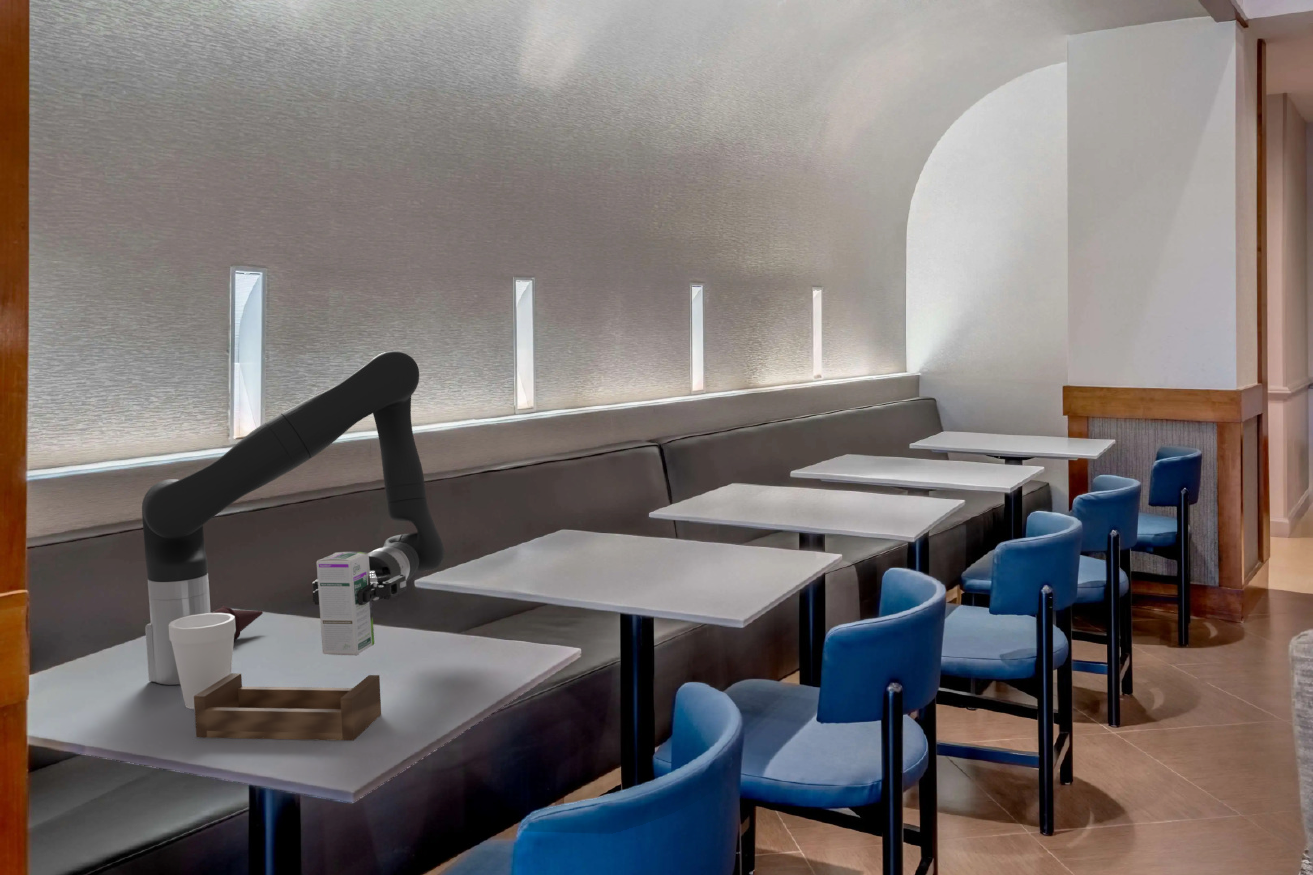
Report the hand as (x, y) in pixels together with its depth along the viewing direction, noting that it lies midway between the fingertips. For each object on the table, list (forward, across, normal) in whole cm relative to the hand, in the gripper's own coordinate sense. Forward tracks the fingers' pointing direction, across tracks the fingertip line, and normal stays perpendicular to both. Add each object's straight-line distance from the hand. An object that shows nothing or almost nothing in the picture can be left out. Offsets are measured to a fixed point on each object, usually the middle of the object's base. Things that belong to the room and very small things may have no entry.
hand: (338, 598), depth 157 cm
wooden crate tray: (+5, -6, +18) cm, 19 cm away
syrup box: (-2, 0, +9) cm, 9 cm away
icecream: (-38, -39, +18) cm, 58 cm away
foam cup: (-4, -24, +18) cm, 30 cm away
